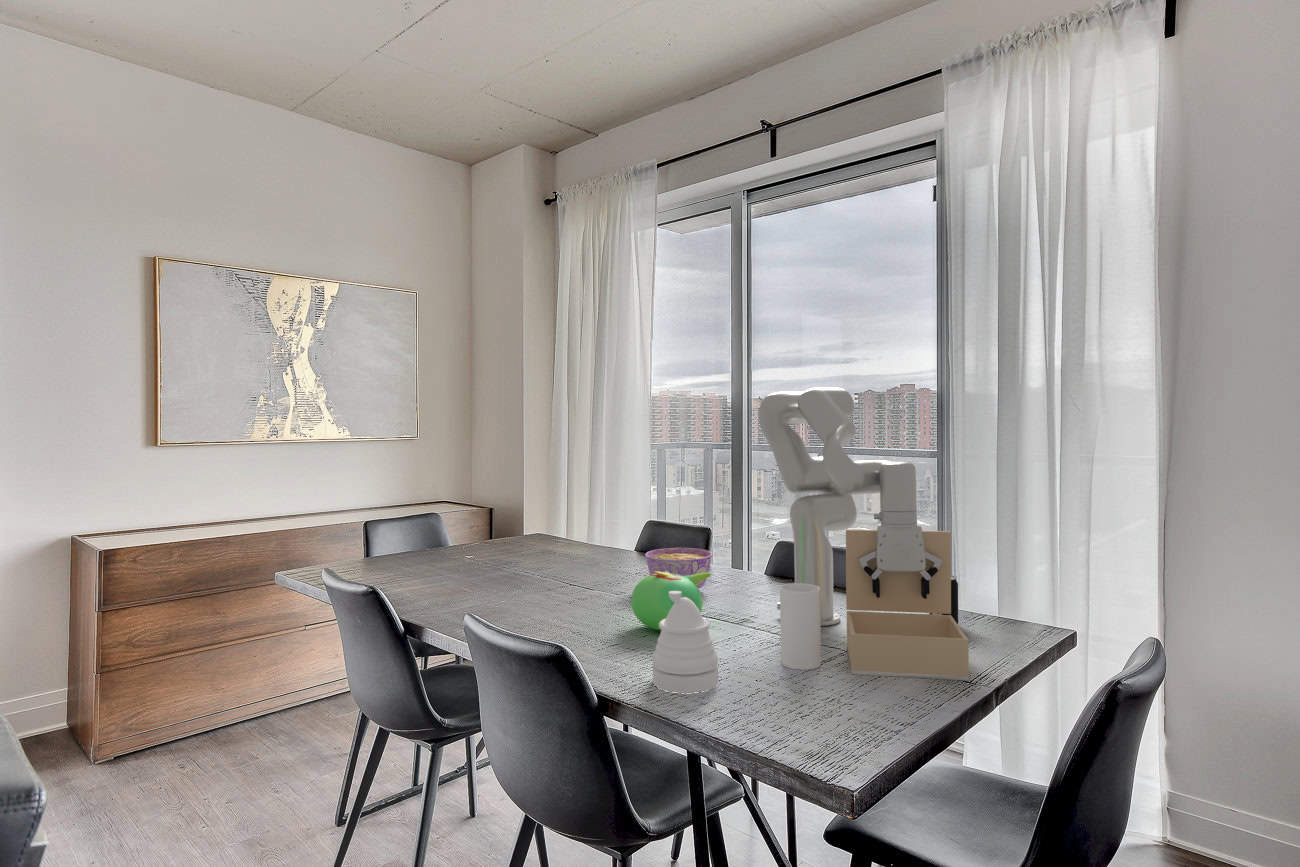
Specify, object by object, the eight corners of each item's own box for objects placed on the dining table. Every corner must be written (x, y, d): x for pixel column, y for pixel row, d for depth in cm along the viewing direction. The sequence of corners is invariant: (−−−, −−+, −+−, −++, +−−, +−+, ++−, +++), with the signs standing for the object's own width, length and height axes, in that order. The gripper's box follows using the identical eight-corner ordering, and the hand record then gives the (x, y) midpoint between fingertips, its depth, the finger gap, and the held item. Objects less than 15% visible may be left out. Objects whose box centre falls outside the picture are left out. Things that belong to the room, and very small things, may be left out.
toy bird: (618, 630, 181) (617, 570, 181) (664, 615, 194) (663, 560, 193) (673, 644, 169) (672, 580, 169) (718, 628, 181) (718, 568, 181)
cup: (812, 672, 149) (812, 593, 149) (774, 665, 154) (773, 589, 153) (826, 660, 156) (825, 585, 156) (789, 654, 161) (788, 581, 160)
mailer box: (851, 674, 148) (851, 634, 148) (846, 646, 166) (846, 611, 165) (968, 680, 143) (968, 639, 143) (951, 651, 161) (951, 615, 161)
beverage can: (960, 629, 177) (960, 580, 177) (931, 628, 178) (931, 579, 178) (955, 622, 184) (955, 574, 183) (927, 621, 185) (927, 573, 185)
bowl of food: (715, 600, 209) (714, 559, 209) (644, 601, 209) (644, 560, 209) (710, 584, 229) (710, 547, 229) (646, 585, 229) (645, 548, 229)
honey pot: (669, 699, 136) (668, 602, 136) (642, 677, 148) (641, 587, 148) (730, 687, 142) (729, 594, 141) (699, 667, 153) (698, 581, 153)
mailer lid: (845, 525, 165) (845, 525, 165) (846, 609, 165) (846, 608, 166) (950, 527, 160) (950, 527, 161) (950, 613, 161) (950, 612, 161)
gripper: (858, 520, 159) (860, 599, 159) (943, 520, 156) (945, 601, 156) (856, 516, 167) (858, 592, 167) (937, 516, 163) (940, 594, 163)
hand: (900, 596), depth 161 cm, fingers open, 9 cm apart
